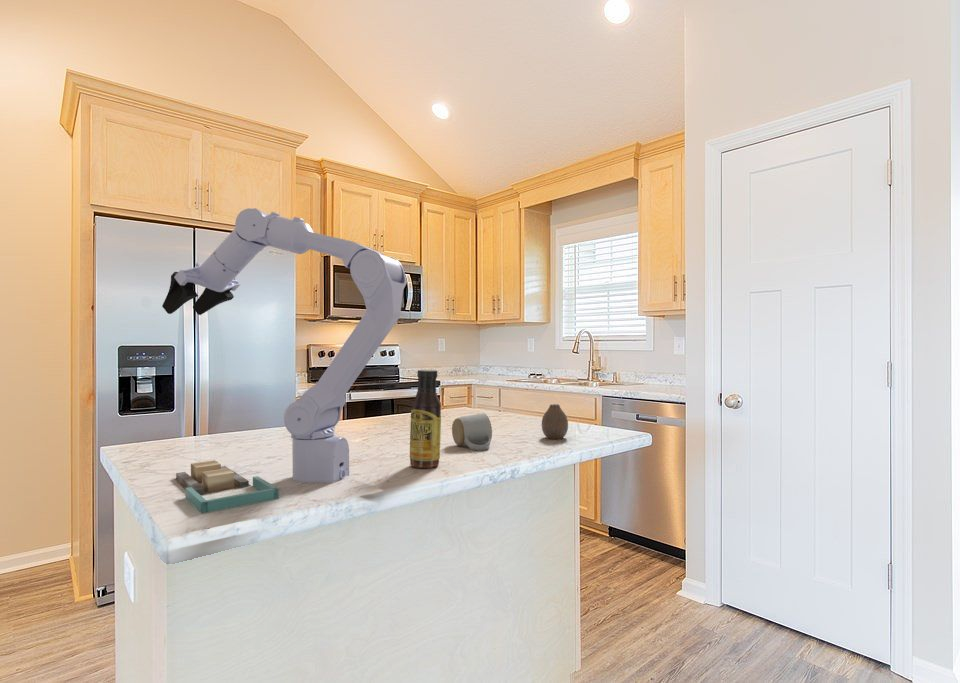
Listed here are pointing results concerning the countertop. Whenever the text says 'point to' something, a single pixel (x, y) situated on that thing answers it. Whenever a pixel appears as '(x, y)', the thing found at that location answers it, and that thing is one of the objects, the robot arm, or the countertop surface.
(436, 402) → the sauce bottle
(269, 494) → the teal u-shaped rail
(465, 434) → the ceramic mug
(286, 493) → the countertop surface
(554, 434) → the vase
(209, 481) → the tan wooden block
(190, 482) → the slot track
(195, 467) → the chip
